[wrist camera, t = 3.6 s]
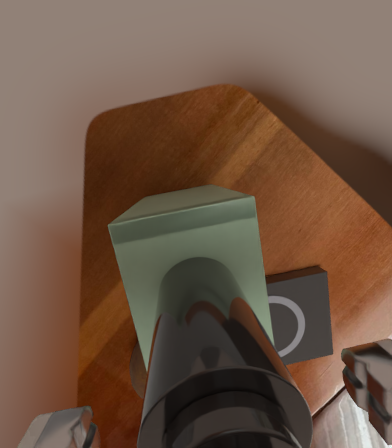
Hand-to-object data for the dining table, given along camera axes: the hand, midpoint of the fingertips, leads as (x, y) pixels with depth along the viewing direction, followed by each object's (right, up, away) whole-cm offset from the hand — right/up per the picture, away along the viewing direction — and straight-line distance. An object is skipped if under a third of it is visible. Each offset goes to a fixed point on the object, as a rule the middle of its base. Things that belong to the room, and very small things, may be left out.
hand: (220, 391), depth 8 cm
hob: (+8, -7, +25) cm, 28 cm away
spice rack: (-2, +4, +22) cm, 23 cm away
